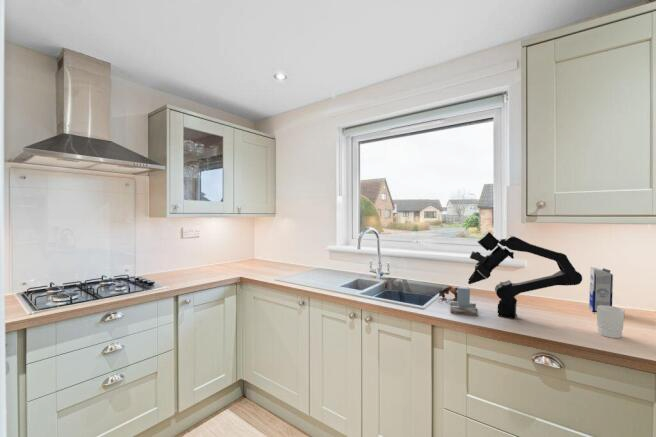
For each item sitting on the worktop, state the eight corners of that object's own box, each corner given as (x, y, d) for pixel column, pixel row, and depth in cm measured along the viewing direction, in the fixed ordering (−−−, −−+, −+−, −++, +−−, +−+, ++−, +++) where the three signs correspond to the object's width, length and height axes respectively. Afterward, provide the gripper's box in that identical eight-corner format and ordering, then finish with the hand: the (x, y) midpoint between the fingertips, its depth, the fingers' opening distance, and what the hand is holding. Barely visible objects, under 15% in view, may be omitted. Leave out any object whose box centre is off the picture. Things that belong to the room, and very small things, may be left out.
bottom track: (475, 309, 151) (475, 303, 151) (477, 315, 143) (477, 308, 143) (450, 307, 155) (450, 301, 155) (450, 312, 147) (450, 306, 147)
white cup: (620, 340, 116) (621, 313, 116) (592, 333, 123) (593, 307, 122) (626, 335, 121) (627, 309, 120) (599, 329, 127) (600, 304, 127)
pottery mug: (452, 305, 160) (443, 289, 162) (440, 308, 168) (433, 293, 170) (469, 296, 165) (460, 281, 167) (457, 299, 173) (449, 285, 175)
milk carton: (589, 308, 153) (590, 266, 153) (607, 310, 150) (608, 267, 149) (592, 312, 147) (594, 268, 146) (611, 315, 144) (613, 270, 143)
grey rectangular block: (468, 308, 150) (469, 287, 149) (469, 310, 146) (469, 288, 146) (457, 307, 151) (457, 286, 151) (457, 309, 148) (457, 288, 148)
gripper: (480, 244, 155) (456, 266, 159) (480, 246, 138) (453, 271, 142) (499, 261, 151) (474, 283, 156) (502, 265, 134) (474, 290, 139)
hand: (468, 281), depth 148 cm, fingers open, 9 cm apart
